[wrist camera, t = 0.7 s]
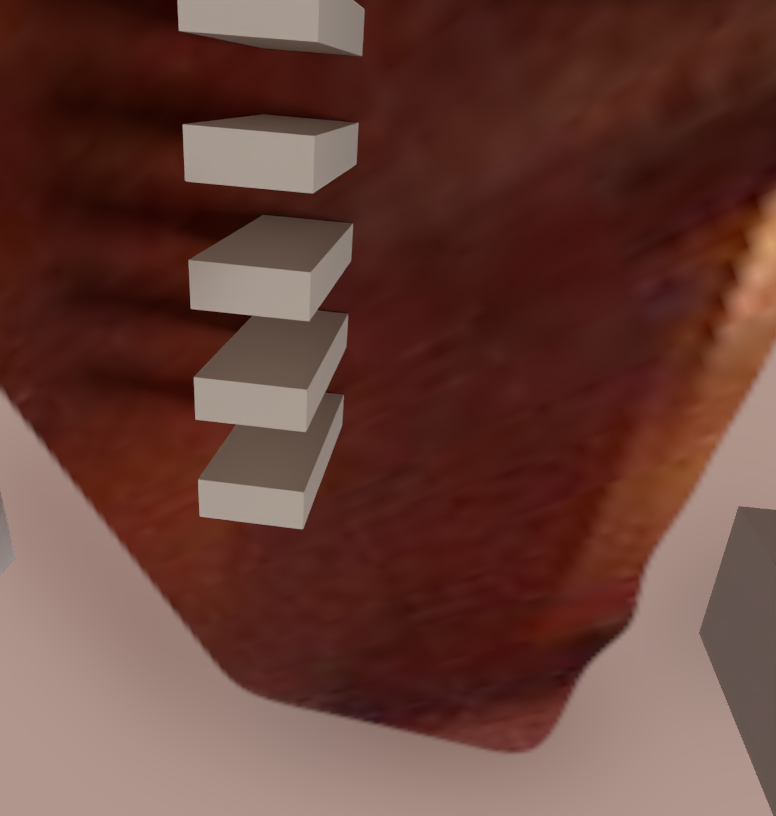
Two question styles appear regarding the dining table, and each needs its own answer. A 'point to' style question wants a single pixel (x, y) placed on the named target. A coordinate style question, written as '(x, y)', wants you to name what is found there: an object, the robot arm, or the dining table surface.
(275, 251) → the tile
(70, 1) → the dining table surface
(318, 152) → the tile
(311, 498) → the grey rectangular block
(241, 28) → the tile
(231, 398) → the tile
